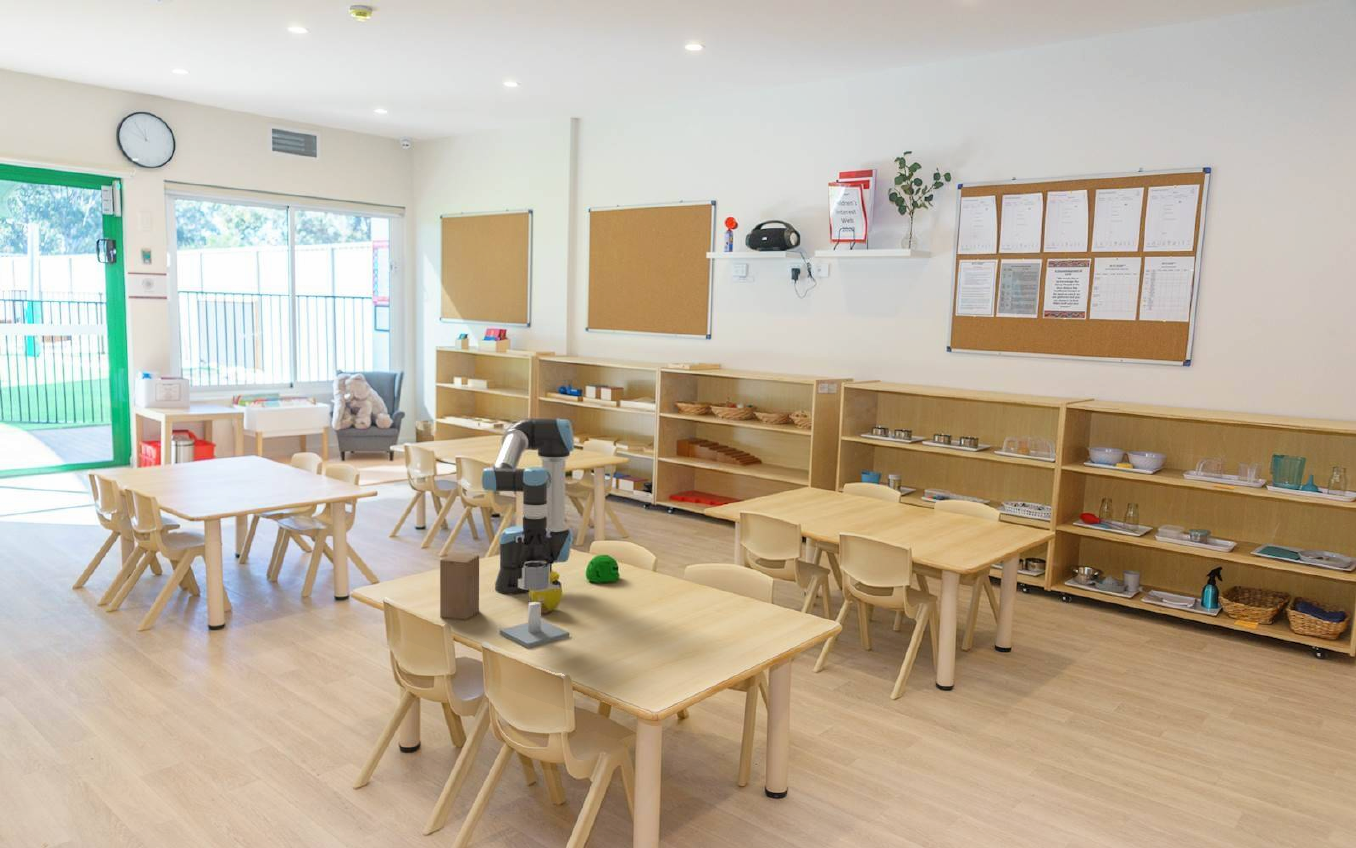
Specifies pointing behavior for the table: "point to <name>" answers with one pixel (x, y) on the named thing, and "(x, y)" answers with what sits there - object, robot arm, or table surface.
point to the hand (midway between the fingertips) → (534, 585)
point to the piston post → (534, 630)
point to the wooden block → (459, 586)
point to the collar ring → (536, 575)
